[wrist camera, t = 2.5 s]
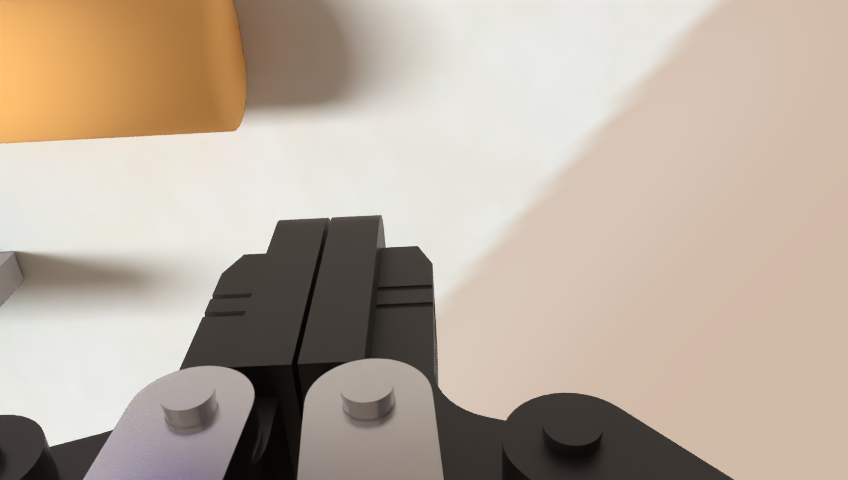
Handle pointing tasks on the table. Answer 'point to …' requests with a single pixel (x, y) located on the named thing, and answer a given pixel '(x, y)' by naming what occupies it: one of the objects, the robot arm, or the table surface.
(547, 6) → the table surface
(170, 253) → the table surface
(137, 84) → the orange cylinder
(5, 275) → the hinged gray case
